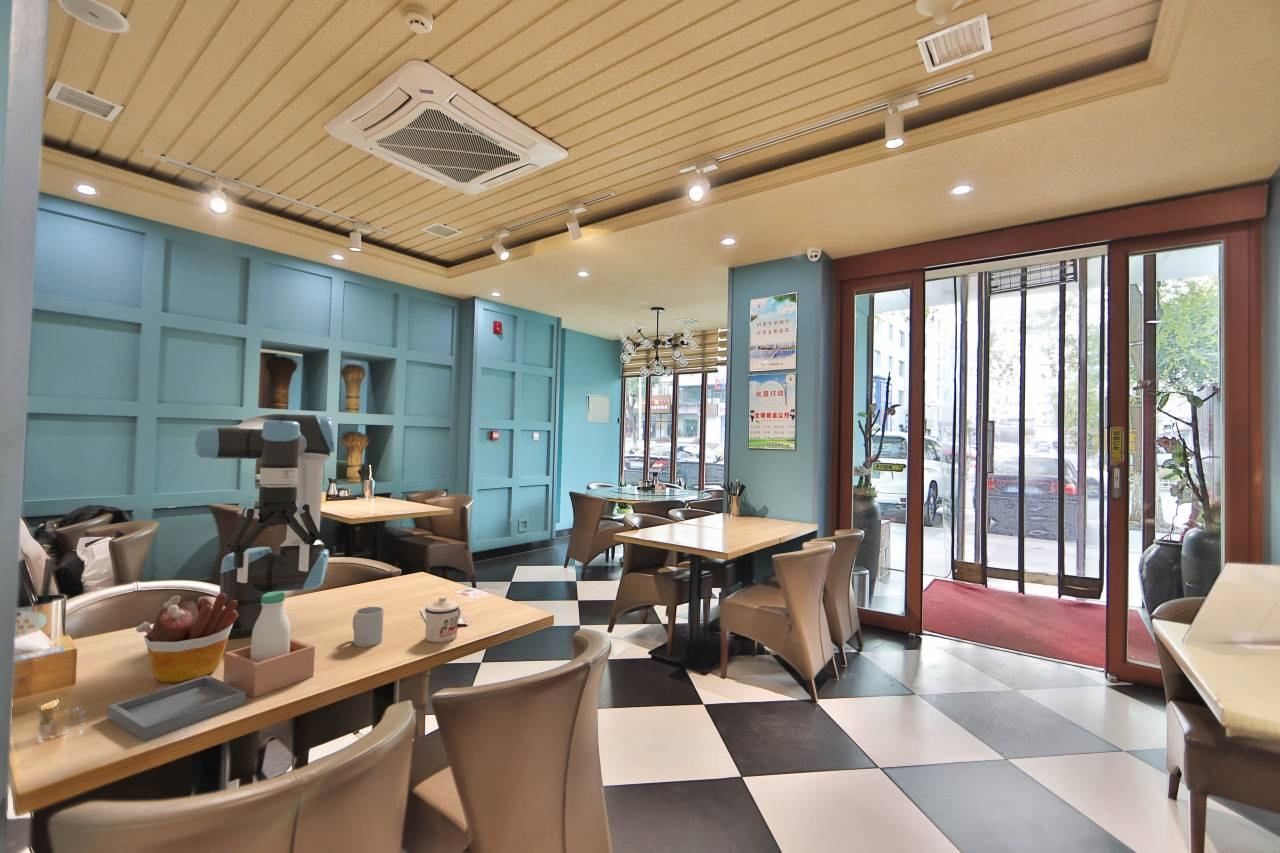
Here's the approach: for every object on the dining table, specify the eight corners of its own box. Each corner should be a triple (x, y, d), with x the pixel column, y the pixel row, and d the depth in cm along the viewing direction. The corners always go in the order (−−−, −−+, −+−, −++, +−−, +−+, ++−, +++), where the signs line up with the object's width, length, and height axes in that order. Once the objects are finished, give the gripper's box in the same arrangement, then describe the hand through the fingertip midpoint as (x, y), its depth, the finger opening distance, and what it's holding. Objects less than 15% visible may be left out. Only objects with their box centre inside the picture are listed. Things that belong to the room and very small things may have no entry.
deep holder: (223, 683, 126) (224, 652, 126) (282, 664, 137) (283, 636, 137) (254, 697, 119) (255, 665, 120) (313, 676, 131) (314, 646, 131)
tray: (107, 718, 109) (108, 705, 109) (207, 686, 124) (207, 675, 124) (143, 741, 102) (144, 727, 102) (245, 703, 117) (245, 692, 117)
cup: (364, 649, 148) (366, 616, 148) (341, 642, 153) (342, 610, 153) (388, 641, 155) (389, 609, 155) (364, 634, 159) (366, 603, 159)
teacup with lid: (442, 645, 153) (443, 603, 153) (417, 640, 156) (418, 598, 156) (470, 632, 164) (472, 593, 164) (447, 627, 167) (448, 589, 167)
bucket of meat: (119, 682, 125) (124, 594, 125) (195, 655, 141) (199, 578, 141) (182, 696, 119) (187, 604, 120) (254, 666, 135) (259, 585, 136)
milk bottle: (289, 682, 127) (293, 595, 128) (248, 690, 123) (253, 600, 123) (288, 670, 134) (292, 588, 134) (249, 677, 129) (253, 592, 130)
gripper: (227, 489, 117) (221, 589, 116) (338, 484, 139) (334, 568, 138) (209, 487, 120) (203, 584, 120) (320, 482, 142) (317, 564, 141)
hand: (274, 576), depth 129 cm, fingers open, 13 cm apart
